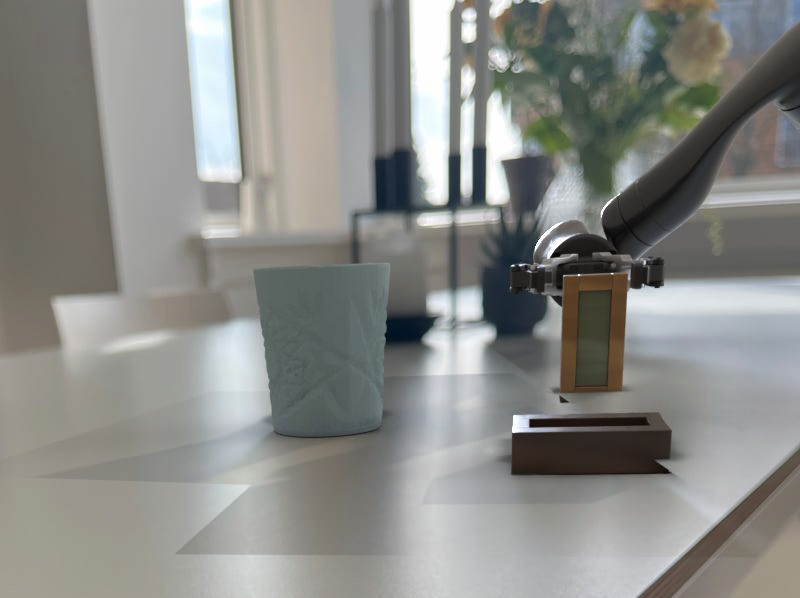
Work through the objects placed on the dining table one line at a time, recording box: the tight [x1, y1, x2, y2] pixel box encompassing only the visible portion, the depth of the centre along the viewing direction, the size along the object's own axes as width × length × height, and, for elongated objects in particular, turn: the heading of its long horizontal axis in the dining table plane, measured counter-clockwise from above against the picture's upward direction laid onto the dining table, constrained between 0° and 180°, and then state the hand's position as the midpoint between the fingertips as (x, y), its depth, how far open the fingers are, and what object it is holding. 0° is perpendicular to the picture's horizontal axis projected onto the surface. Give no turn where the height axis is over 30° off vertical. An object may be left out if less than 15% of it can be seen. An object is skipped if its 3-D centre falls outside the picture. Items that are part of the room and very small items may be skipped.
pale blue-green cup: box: [252, 262, 391, 438], centre depth 79 cm, size 10×10×12 cm
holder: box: [510, 411, 673, 475], centre depth 63 cm, size 6×9×2 cm
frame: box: [558, 272, 628, 403], centre depth 85 cm, size 2×5×10 cm, turn 79°
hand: (588, 278), depth 93 cm, fingers open, 8 cm apart
